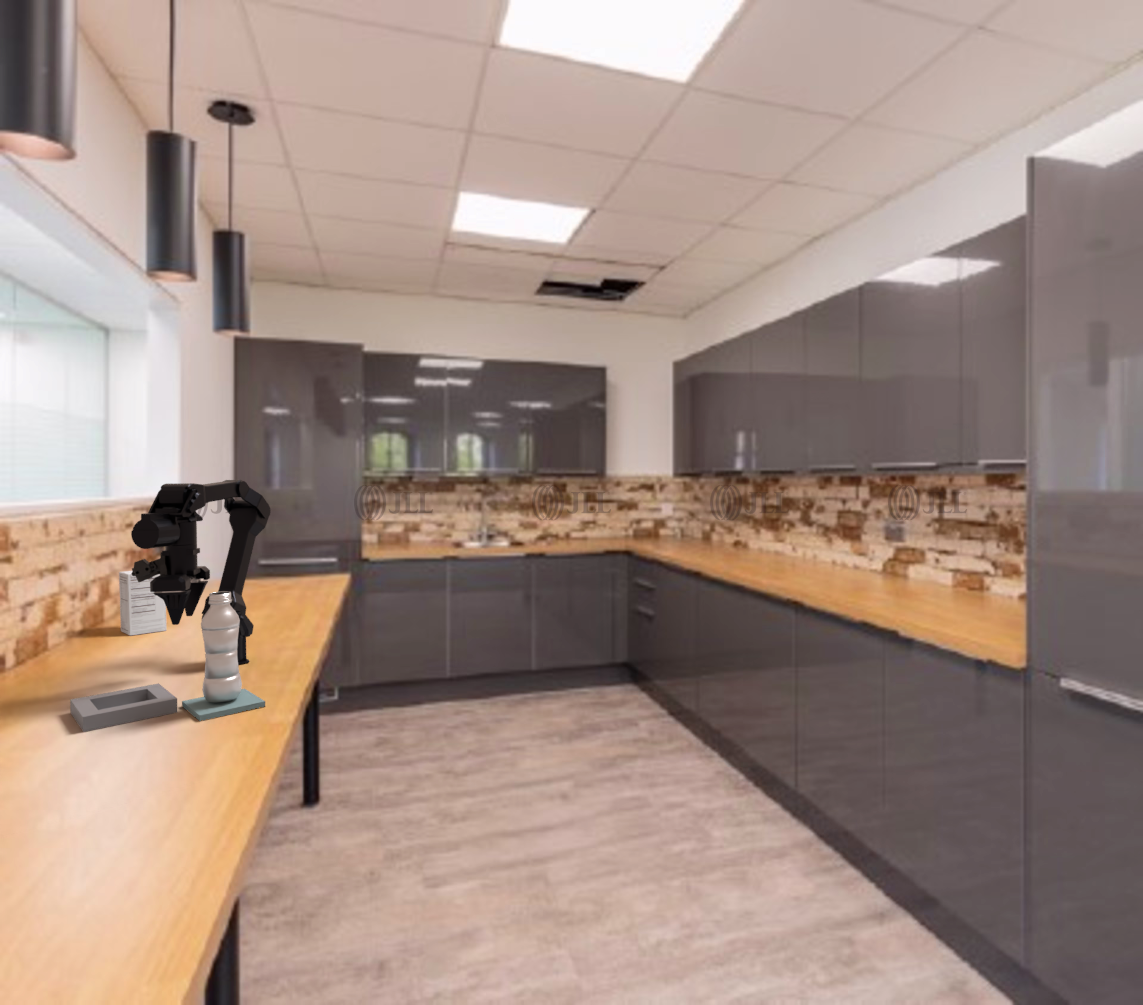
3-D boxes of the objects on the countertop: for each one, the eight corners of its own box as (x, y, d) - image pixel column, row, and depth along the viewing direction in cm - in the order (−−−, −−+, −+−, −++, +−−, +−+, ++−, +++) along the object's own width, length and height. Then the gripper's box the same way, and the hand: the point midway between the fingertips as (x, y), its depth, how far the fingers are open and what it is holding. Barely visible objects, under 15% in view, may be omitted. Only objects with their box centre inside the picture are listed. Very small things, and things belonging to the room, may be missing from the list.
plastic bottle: (249, 695, 131) (246, 590, 130) (229, 707, 124) (227, 596, 124) (215, 695, 131) (213, 590, 131) (194, 706, 124) (192, 596, 124)
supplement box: (167, 630, 194) (166, 570, 193) (129, 636, 187) (127, 574, 186) (156, 626, 200) (155, 568, 200) (119, 631, 193) (118, 571, 193)
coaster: (244, 693, 135) (244, 688, 135) (265, 706, 127) (265, 701, 127) (182, 706, 128) (181, 701, 128) (199, 721, 120) (199, 715, 120)
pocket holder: (159, 696, 134) (158, 683, 134) (177, 712, 125) (177, 698, 125) (70, 713, 124) (70, 699, 124) (83, 731, 115) (82, 717, 115)
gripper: (153, 541, 149) (154, 613, 150) (118, 549, 131) (120, 631, 131) (209, 540, 152) (211, 611, 152) (183, 548, 134) (185, 628, 134)
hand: (182, 620), depth 142 cm, fingers open, 9 cm apart
